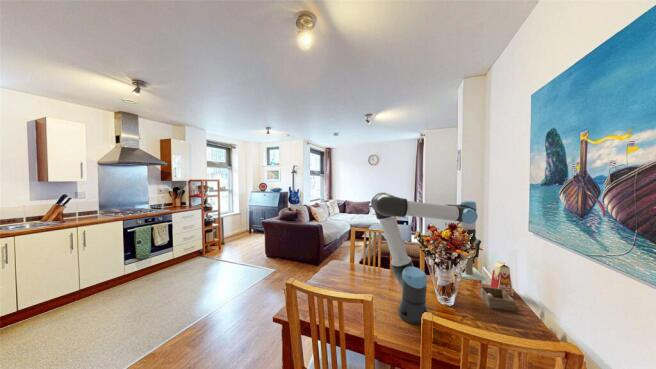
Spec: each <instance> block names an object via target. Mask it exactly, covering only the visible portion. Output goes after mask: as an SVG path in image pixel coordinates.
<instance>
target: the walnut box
mask: <svg viewBox="0 0 656 369" xmlns="http://www.w3.org/2000/svg"><path fill="white" fill-rule="evenodd" d="M487 293H490V294H492V296H493V298H491V297H490V296H489V295H488V294H487ZM478 295H479V296H480V298H481V299H482V300H483V303H485V305H486V306H487V307H488V308H490V309H498V310H505V311H513V312H515V311H516V300H515V299H514V298H512V297H511V296H509V295H508V294H507V293H506V292H505V291H504V290H503V289H500V288H491V287H489V286H483V285H482V286H481V285H480V286H478Z"/></svg>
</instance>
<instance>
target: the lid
mask: <svg viewBox="0 0 656 369" xmlns="http://www.w3.org/2000/svg"><path fill="white" fill-rule="evenodd" d="M461 276H462V277H461ZM461 276H460V278H459V279H466V280H475V281H486V278H485V276H483V274H481V273H480V272H479V271H478V270H477V268H475V267H474V265H473V256H472V257H470V258H468V261H467V264H466V268H465V271H464V273H463V275H461Z"/></svg>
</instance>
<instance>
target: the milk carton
mask: <svg viewBox="0 0 656 369" xmlns="http://www.w3.org/2000/svg"><path fill="white" fill-rule="evenodd" d="M505 263H506V262H504V261H503V262H501V261H499V260H497V261H496V263H495V264H494V265H493V269H492V273H491V279H490V285H489V286H490V287H491V288H500V289H503V290H504V291H505V292H506V293H507V294H508V295H509V296H510V297H511V296H512V297H514V292H513V285H512V279H511V278H512V277H511V270H510V267H509V266H508V265H506V264H505Z"/></svg>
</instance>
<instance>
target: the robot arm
mask: <svg viewBox="0 0 656 369" xmlns="http://www.w3.org/2000/svg"><path fill="white" fill-rule="evenodd" d="M370 205H371V208H372V209H373V211H374V213H375V217H376V219H377V220H378V221H380V224H381V226H382V230H383V233H384V237H385V241H386V243H387V247H388V249H389V252H390V256H391V262H390V264H391V270H392V274H393V275H392V276H394V278H395V279H396V280H397V282H398V283H399V285H400V287H401V300H400V303H399V306H398V309H397V310H398V312H397V314H398V316H399V318H401V320H403V321H404V322H407V323H409V324H411V325H418V326H422V325H421V317H422V314H423V313H424V312H429V313H430V311H429V308H428V305H427V284H428V278H427V274H426V272H425V271H424V270H422V269H421V268H419V267H416V266H414V264H413V261H412V257H410V256H408V253H407V250H406V248H405V243H404V241H403V237H402V234H401V231H400V228H399V224H398V221H397V218H406V217H407V216H408V217H415V218H416V217H417V218H425V219H434V220H435V219H436V220H442V221H443V220H444V221H452V222H460V228H461V227H462V228H463V229H467V230H468V232H467V234H468V235H470V234H472V233H473V236H472V237H471V239H470V244H471V245H472V246H473V247H475V248H474V251H475V250H476V255H475V256H474V257H473V264H475V259H476V258H479V254H480V246H481V243H482V241H481V240H480V239H479V238H477V237H476V234H477V232H476V231H477V229H476V228H477V220H478V213H477V210H478V209H477V202H475V201H472V200H461V201H460V204H448V203H446V204H437V203H436V204H435V203H429V202H420V201H413V200H408V199H407V198H403V197H399V196H394V195H392V194H390V193H387V192H377V193H375V194H374V195H373V196H372V198H371V201H370ZM474 242H475V246H474Z"/></svg>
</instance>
